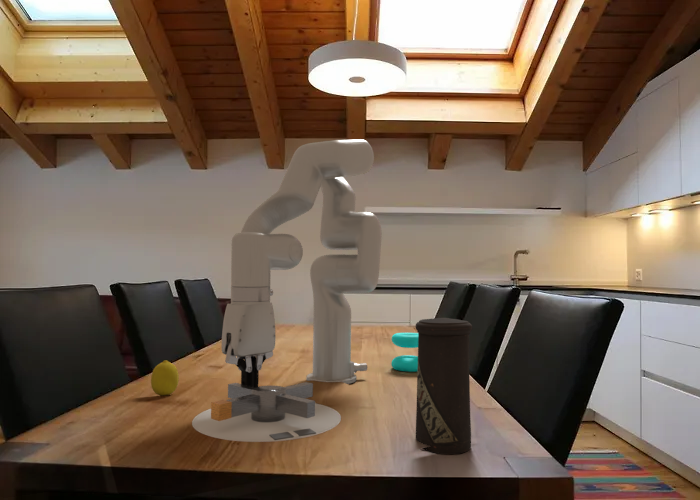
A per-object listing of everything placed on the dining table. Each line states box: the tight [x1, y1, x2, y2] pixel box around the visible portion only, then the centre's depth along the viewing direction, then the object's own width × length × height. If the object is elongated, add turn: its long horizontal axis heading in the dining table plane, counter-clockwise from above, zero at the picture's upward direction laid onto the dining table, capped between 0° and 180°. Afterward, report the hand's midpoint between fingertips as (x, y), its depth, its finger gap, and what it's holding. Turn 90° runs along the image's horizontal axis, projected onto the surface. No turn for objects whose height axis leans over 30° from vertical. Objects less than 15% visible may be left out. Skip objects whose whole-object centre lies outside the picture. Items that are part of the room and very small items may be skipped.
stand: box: [191, 402, 342, 443], centre depth 90 cm, size 26×26×1 cm
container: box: [415, 317, 473, 455], centre depth 80 cm, size 9×9×20 cm
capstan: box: [210, 381, 316, 422], centre depth 90 cm, size 22×21×5 cm
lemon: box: [150, 359, 180, 397], centre depth 107 cm, size 6×6×8 cm
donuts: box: [390, 332, 418, 373], centre depth 144 cm, size 10×10×10 cm
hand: (249, 391), depth 98 cm, fingers closed
